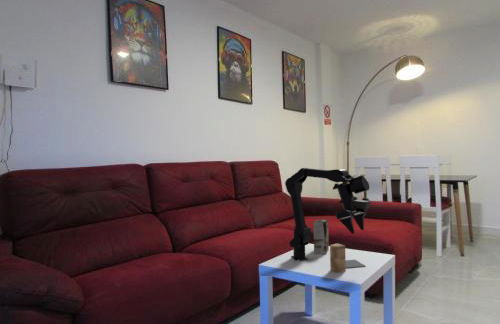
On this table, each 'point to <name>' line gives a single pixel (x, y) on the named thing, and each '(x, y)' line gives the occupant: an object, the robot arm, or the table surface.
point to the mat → (353, 264)
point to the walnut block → (337, 258)
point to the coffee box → (321, 236)
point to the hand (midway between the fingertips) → (358, 231)
